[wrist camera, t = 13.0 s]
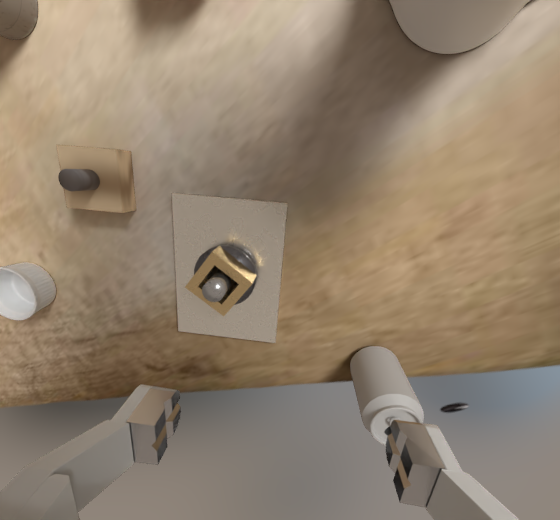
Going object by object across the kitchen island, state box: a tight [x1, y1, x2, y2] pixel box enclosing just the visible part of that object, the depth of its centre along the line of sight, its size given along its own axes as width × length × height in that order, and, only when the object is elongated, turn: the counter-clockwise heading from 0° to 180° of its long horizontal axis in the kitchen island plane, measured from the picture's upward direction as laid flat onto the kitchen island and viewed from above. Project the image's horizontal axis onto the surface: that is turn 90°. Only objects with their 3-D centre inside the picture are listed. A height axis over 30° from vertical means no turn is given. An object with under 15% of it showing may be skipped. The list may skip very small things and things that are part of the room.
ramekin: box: [0, 262, 56, 320], centre depth 42 cm, size 9×9×4 cm
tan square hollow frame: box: [185, 246, 257, 316], centre depth 36 cm, size 7×7×3 cm
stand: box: [56, 145, 136, 213], centre depth 34 cm, size 8×8×6 cm
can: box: [350, 346, 424, 445], centre depth 37 cm, size 8×8×12 cm
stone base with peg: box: [172, 193, 288, 343], centre depth 37 cm, size 22×16×8 cm
